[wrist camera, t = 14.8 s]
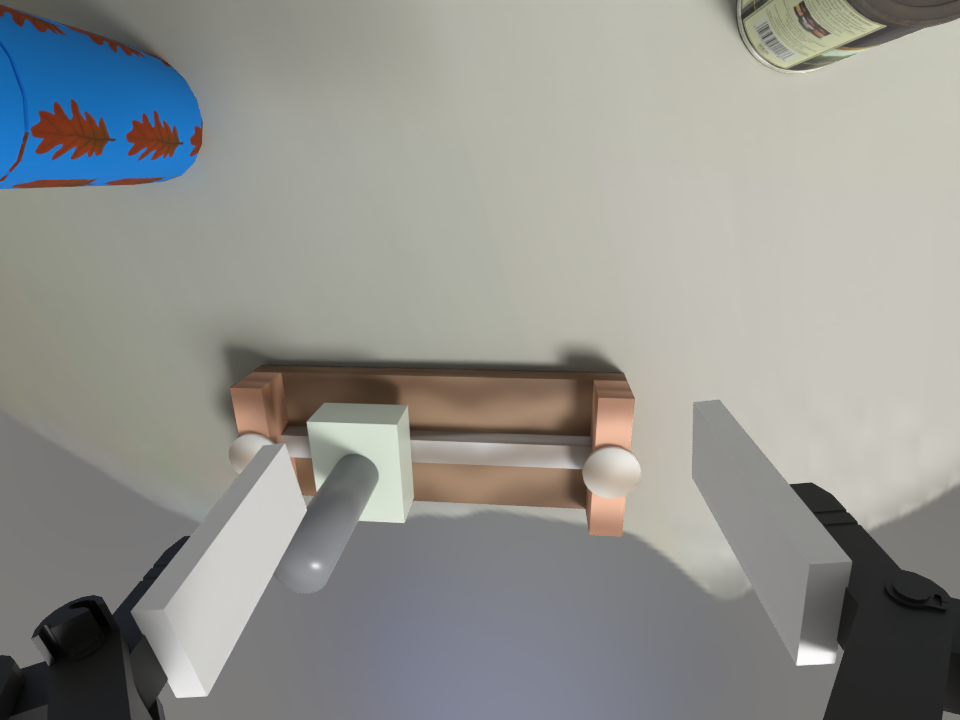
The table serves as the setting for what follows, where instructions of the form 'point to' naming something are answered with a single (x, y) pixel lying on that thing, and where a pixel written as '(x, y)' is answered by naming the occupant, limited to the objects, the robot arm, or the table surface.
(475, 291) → the table surface
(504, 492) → the rail board
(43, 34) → the thermos
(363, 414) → the carriage
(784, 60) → the coffee can
